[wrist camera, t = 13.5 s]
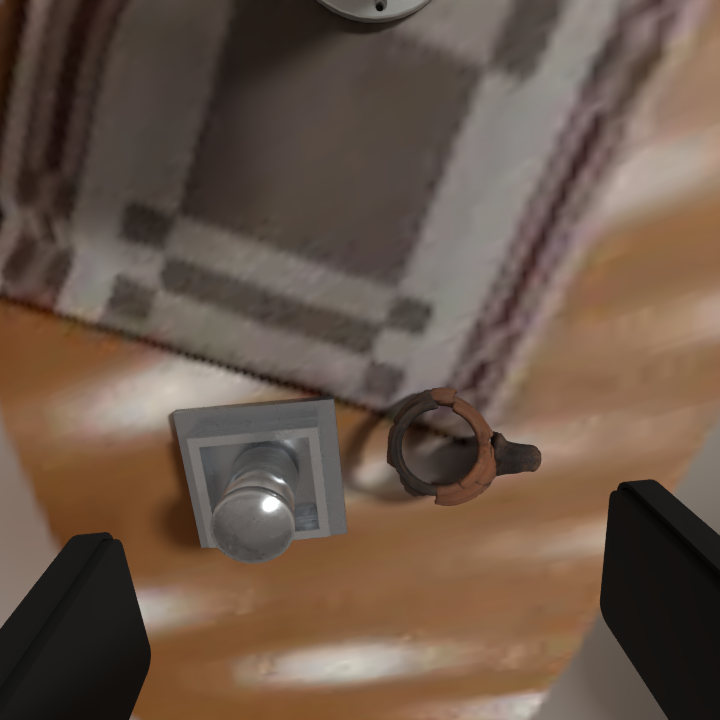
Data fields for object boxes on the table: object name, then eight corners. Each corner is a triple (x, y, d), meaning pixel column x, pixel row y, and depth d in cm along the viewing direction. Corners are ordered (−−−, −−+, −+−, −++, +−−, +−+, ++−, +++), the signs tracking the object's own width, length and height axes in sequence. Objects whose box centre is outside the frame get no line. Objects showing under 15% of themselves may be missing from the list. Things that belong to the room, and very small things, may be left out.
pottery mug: (399, 497, 45) (381, 512, 37) (396, 393, 46) (377, 386, 38) (539, 498, 42) (552, 514, 34) (531, 387, 43) (541, 378, 35)
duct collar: (175, 409, 40) (164, 424, 38) (333, 395, 41) (333, 409, 38) (203, 541, 45) (195, 563, 42) (347, 527, 45) (347, 548, 42)
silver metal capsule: (257, 431, 41) (243, 477, 34) (314, 471, 42) (311, 522, 35) (214, 481, 42) (193, 535, 35) (271, 518, 43) (261, 576, 37)
